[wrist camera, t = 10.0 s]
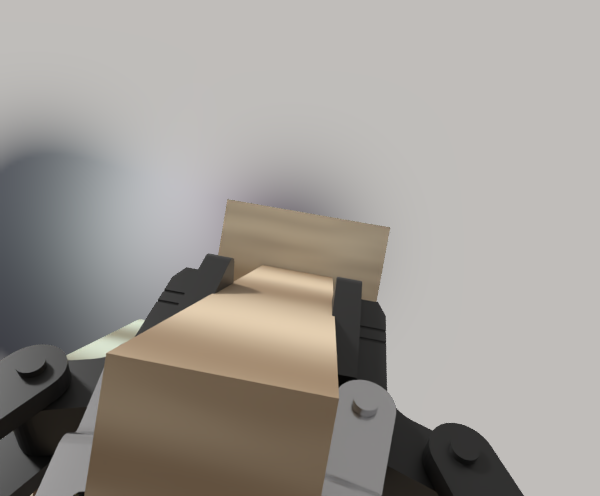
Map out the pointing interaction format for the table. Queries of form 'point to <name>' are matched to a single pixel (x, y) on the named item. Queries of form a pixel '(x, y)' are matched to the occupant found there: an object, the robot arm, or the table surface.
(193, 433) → the wooden mallet
